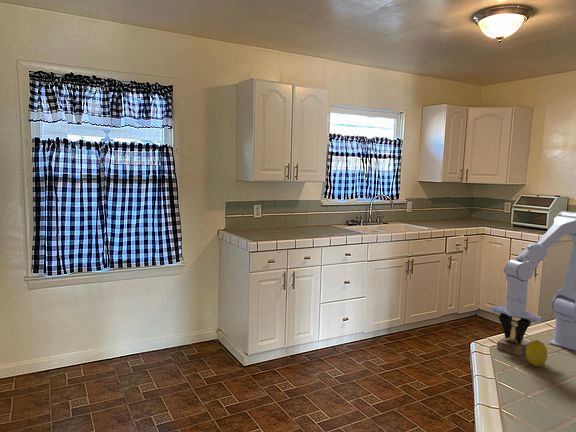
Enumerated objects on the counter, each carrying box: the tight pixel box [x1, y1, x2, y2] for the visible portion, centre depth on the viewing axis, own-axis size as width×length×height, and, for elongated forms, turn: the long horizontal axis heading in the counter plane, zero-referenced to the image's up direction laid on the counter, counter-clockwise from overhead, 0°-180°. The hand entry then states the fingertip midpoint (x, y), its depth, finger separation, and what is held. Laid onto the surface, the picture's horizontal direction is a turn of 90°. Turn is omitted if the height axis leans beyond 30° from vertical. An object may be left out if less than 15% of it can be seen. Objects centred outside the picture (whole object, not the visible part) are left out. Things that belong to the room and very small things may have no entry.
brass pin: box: [509, 323, 518, 345], centre depth 140 cm, size 2×2×8 cm
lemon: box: [525, 339, 548, 368], centre depth 128 cm, size 6×6×8 cm
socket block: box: [496, 337, 530, 357], centre depth 140 cm, size 7×7×2 cm
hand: (513, 339), depth 140 cm, fingers open, 3 cm apart
